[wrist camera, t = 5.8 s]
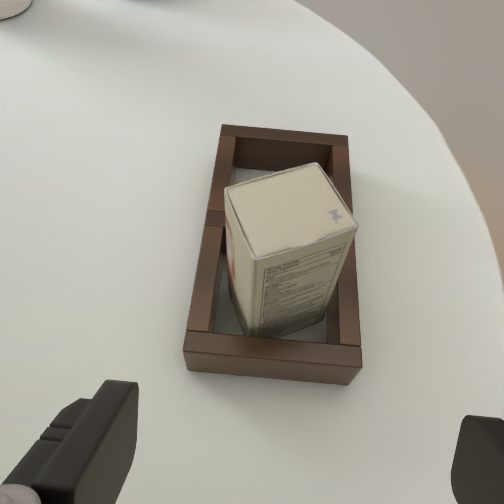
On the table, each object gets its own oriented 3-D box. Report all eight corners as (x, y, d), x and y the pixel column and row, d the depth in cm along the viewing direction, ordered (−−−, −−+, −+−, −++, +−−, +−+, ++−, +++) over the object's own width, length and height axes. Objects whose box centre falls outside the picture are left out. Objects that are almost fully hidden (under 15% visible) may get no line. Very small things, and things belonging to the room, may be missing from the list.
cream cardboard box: (295, 266, 29) (322, 158, 21) (323, 322, 27) (367, 228, 19) (222, 288, 28) (220, 183, 20) (245, 349, 26) (254, 261, 17)
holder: (348, 385, 25) (363, 368, 22) (187, 370, 25) (182, 351, 22) (338, 165, 35) (348, 135, 32) (222, 155, 35) (221, 123, 32)
